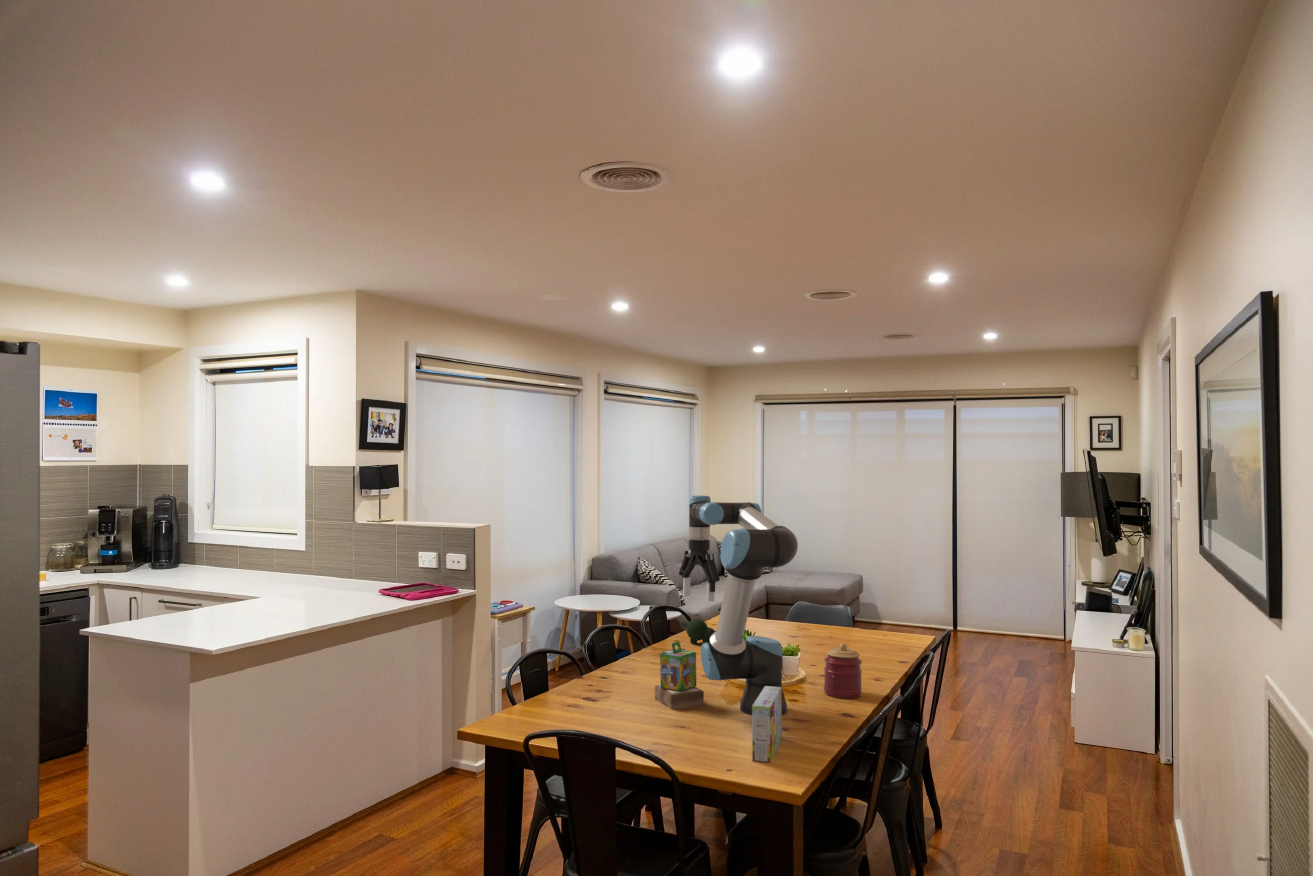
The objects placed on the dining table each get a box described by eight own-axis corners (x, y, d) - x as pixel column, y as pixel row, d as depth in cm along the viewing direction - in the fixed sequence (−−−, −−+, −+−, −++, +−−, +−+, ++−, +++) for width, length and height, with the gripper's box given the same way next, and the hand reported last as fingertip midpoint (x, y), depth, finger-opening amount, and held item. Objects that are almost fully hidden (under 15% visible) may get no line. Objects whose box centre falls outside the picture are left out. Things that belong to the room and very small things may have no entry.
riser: (703, 706, 271) (703, 690, 271) (671, 710, 266) (671, 694, 266) (686, 697, 282) (686, 681, 282) (655, 700, 277) (655, 685, 277)
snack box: (763, 737, 240) (764, 685, 241) (782, 739, 239) (783, 686, 239) (750, 761, 220) (751, 704, 221) (771, 764, 219) (772, 706, 219)
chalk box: (682, 692, 268) (681, 646, 268) (659, 688, 273) (658, 643, 274) (697, 686, 275) (696, 641, 276) (675, 682, 281) (674, 638, 281)
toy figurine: (735, 649, 364) (681, 639, 372) (740, 606, 364) (686, 597, 372) (730, 653, 355) (675, 643, 363) (735, 610, 355) (680, 600, 363)
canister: (832, 687, 297) (833, 638, 297) (867, 693, 289) (867, 643, 290) (817, 695, 286) (818, 644, 287) (853, 701, 279) (853, 649, 279)
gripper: (730, 541, 285) (729, 602, 285) (686, 535, 306) (685, 593, 305) (713, 542, 281) (712, 604, 280) (670, 536, 301) (668, 594, 301)
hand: (698, 598), depth 293 cm, fingers open, 13 cm apart
